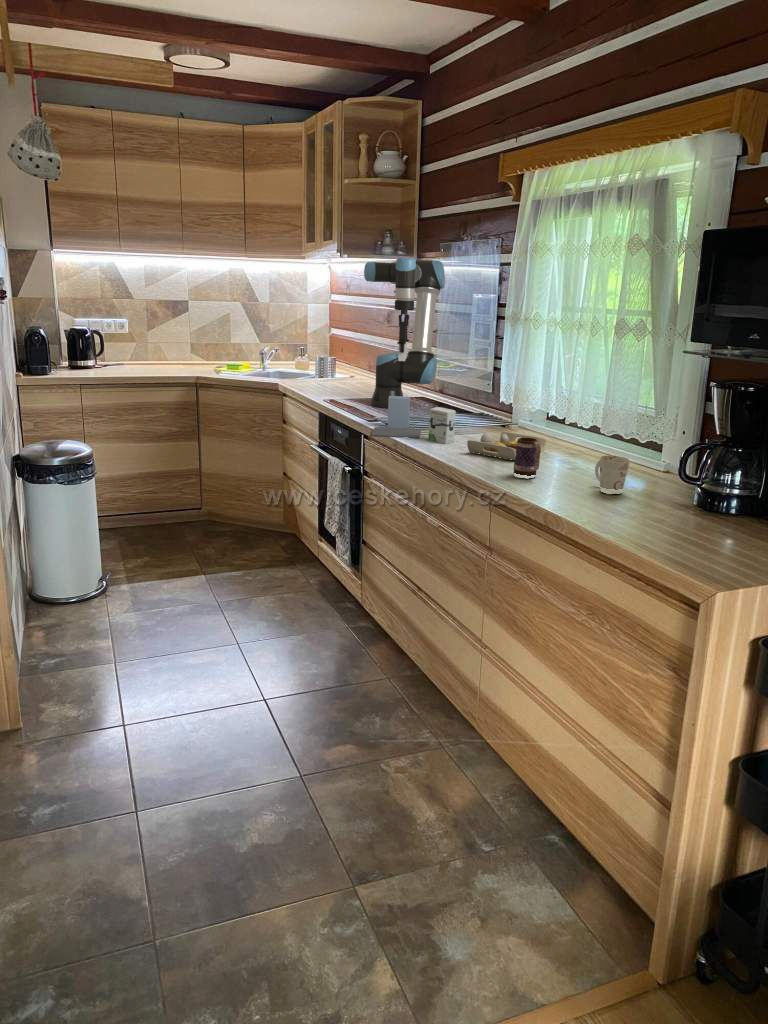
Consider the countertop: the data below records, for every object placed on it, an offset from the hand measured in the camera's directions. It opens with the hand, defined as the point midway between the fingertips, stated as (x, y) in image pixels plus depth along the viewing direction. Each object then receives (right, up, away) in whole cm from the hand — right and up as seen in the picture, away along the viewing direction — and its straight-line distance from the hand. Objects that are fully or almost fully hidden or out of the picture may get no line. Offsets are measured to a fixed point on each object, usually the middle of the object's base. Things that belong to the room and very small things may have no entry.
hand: (402, 359), depth 311 cm
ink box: (+13, -35, -24) cm, 44 cm away
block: (-2, -27, -3) cm, 27 cm away
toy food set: (+35, -40, -37) cm, 65 cm away
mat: (-3, -30, -13) cm, 33 cm away
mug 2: (+36, -50, -70) cm, 93 cm away
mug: (+58, -54, -81) cm, 113 cm away
